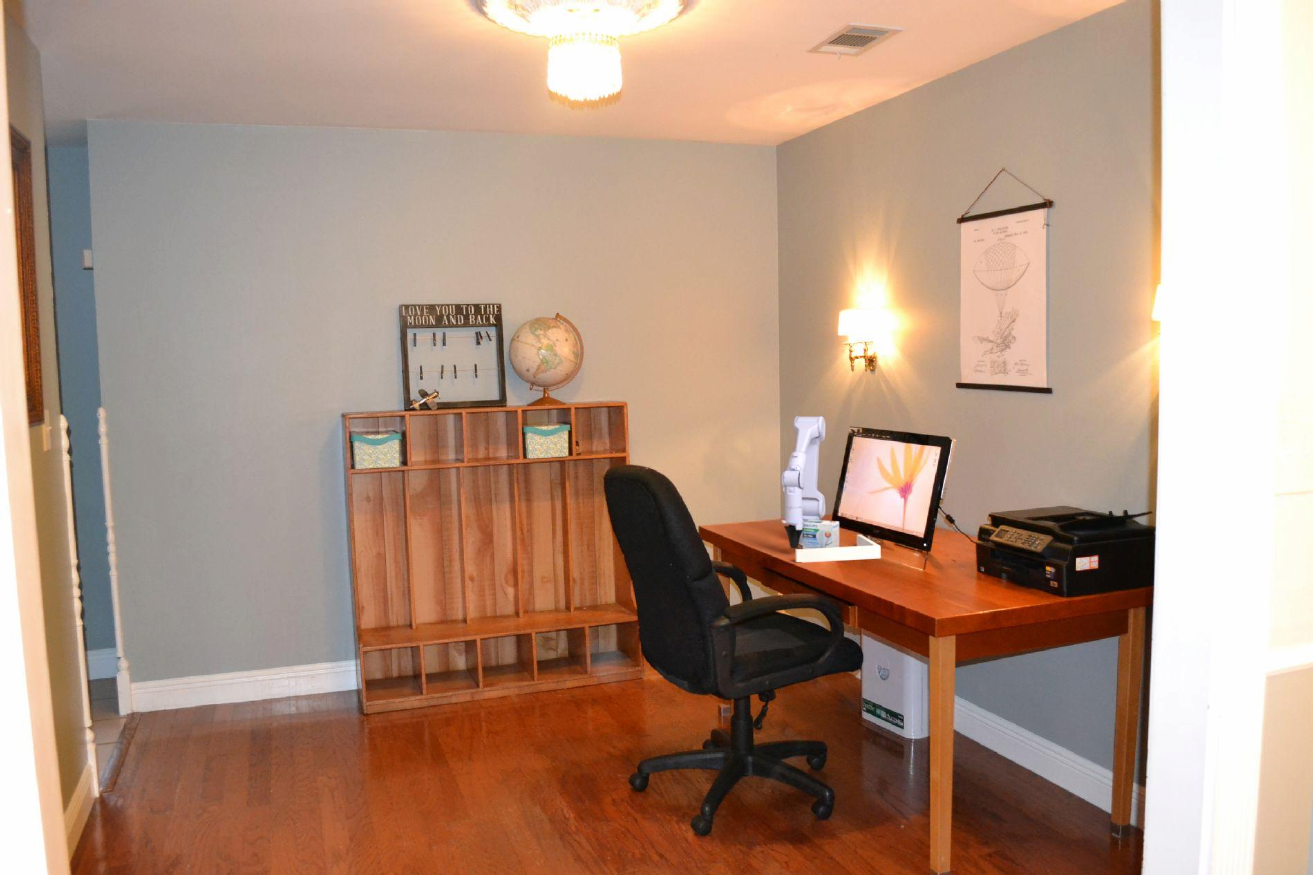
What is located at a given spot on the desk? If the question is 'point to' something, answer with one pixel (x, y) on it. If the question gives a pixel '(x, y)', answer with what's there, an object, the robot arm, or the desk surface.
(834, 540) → the light bulb box
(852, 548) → the corner walls
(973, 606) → the desk surface
